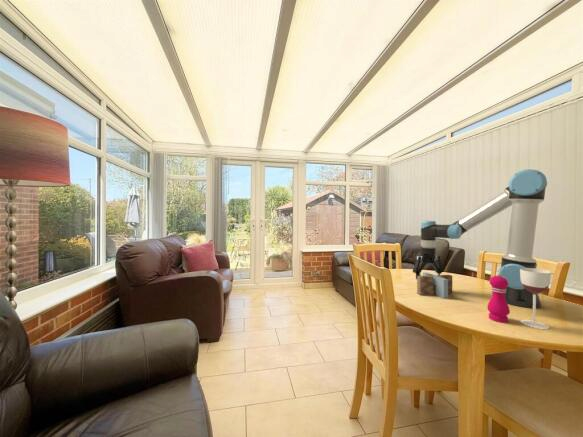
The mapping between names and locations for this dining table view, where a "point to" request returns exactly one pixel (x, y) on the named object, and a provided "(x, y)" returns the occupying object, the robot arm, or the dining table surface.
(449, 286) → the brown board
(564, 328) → the dining table surface
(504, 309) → the pepper mill
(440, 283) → the crosspiece
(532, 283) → the wineglass
